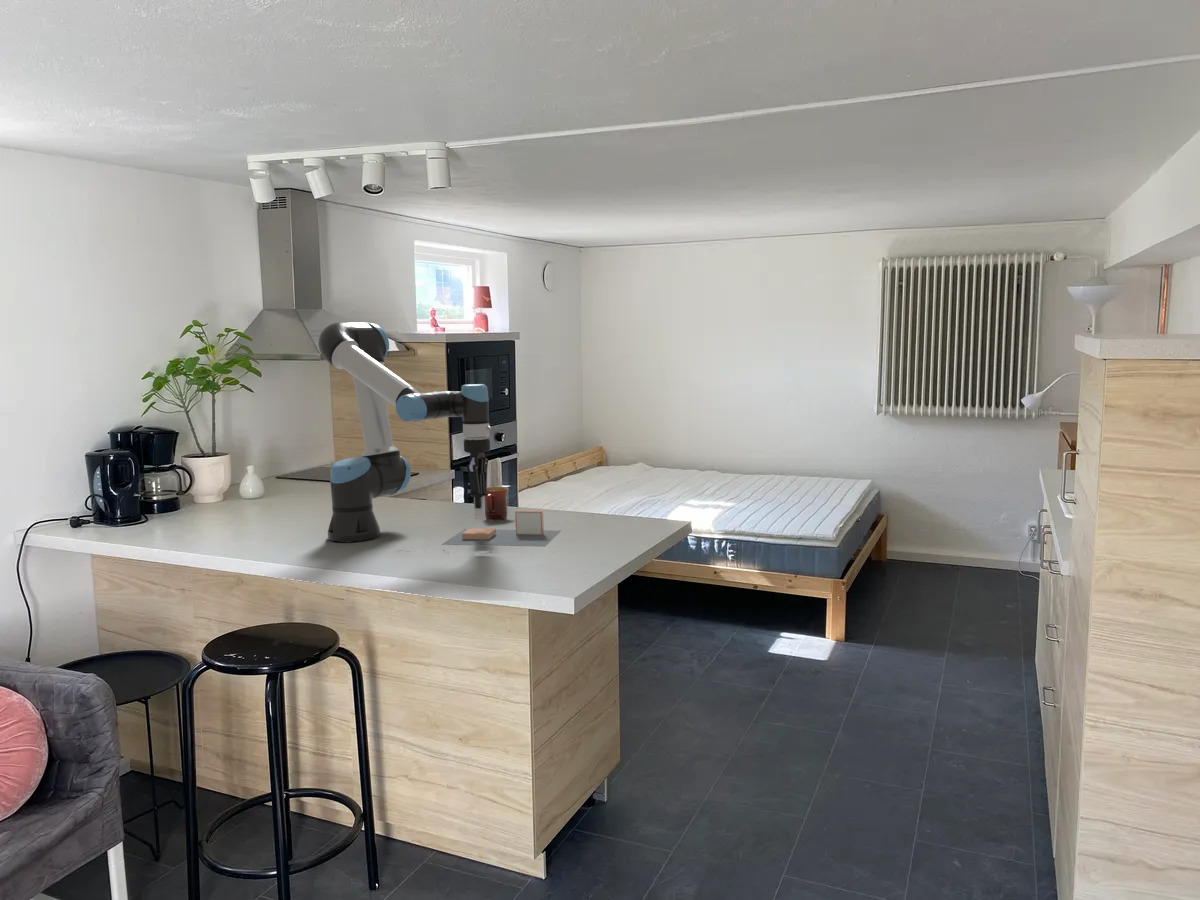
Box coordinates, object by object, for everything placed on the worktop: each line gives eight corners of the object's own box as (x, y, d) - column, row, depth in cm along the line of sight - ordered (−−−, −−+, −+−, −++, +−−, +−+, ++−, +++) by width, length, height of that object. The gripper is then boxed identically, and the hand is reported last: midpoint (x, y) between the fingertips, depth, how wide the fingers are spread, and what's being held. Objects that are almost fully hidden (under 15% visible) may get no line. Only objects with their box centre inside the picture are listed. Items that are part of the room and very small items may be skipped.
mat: (441, 548, 245) (441, 544, 245) (464, 532, 265) (464, 529, 265) (545, 550, 240) (545, 546, 240) (561, 534, 260) (561, 530, 260)
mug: (487, 517, 289) (486, 486, 287) (513, 517, 287) (512, 486, 285) (475, 524, 277) (474, 492, 276) (501, 525, 275) (500, 493, 274)
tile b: (515, 535, 255) (514, 511, 254) (517, 533, 257) (516, 510, 256) (542, 535, 253) (541, 511, 253) (543, 534, 255) (543, 510, 254)
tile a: (469, 534, 257) (462, 539, 251) (469, 528, 257) (461, 533, 250) (496, 534, 256) (488, 540, 249) (495, 528, 256) (488, 533, 249)
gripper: (482, 440, 244) (485, 523, 247) (495, 435, 257) (498, 514, 260) (456, 440, 245) (460, 523, 248) (471, 435, 258) (474, 514, 261)
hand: (480, 518), depth 254 cm, fingers closed
